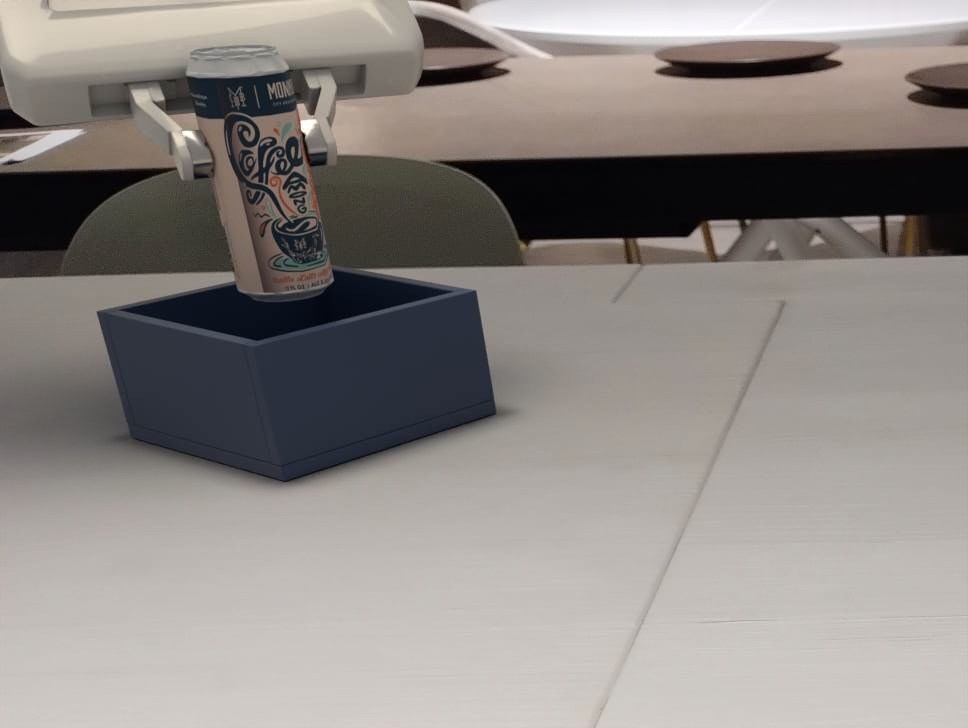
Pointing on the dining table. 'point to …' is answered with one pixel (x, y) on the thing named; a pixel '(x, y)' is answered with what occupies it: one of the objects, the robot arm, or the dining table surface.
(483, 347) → the bin
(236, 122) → the coffee can
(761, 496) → the dining table surface
